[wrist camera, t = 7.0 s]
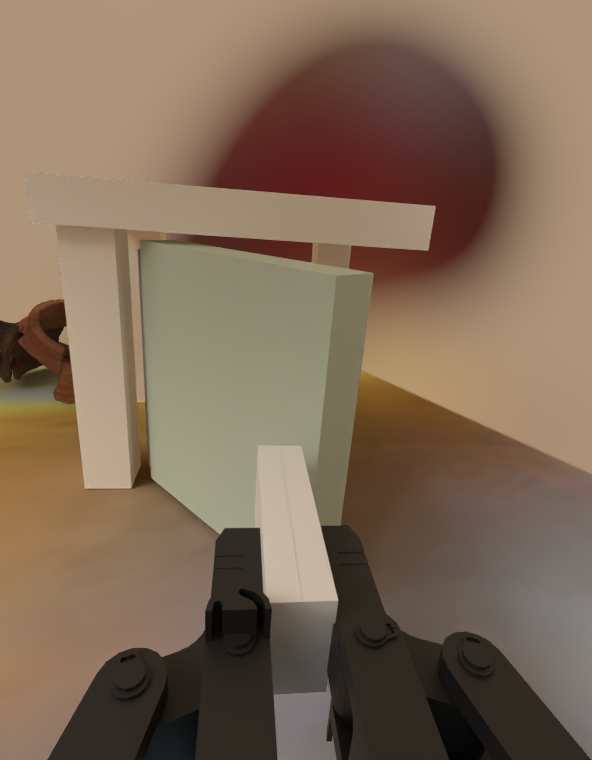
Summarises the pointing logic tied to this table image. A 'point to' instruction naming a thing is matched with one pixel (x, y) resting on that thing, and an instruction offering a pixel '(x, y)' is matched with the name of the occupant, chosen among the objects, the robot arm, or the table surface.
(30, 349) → the brown curved piece
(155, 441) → the panel
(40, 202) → the stool
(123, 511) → the table surface
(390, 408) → the table surface
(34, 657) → the table surface
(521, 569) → the table surface
